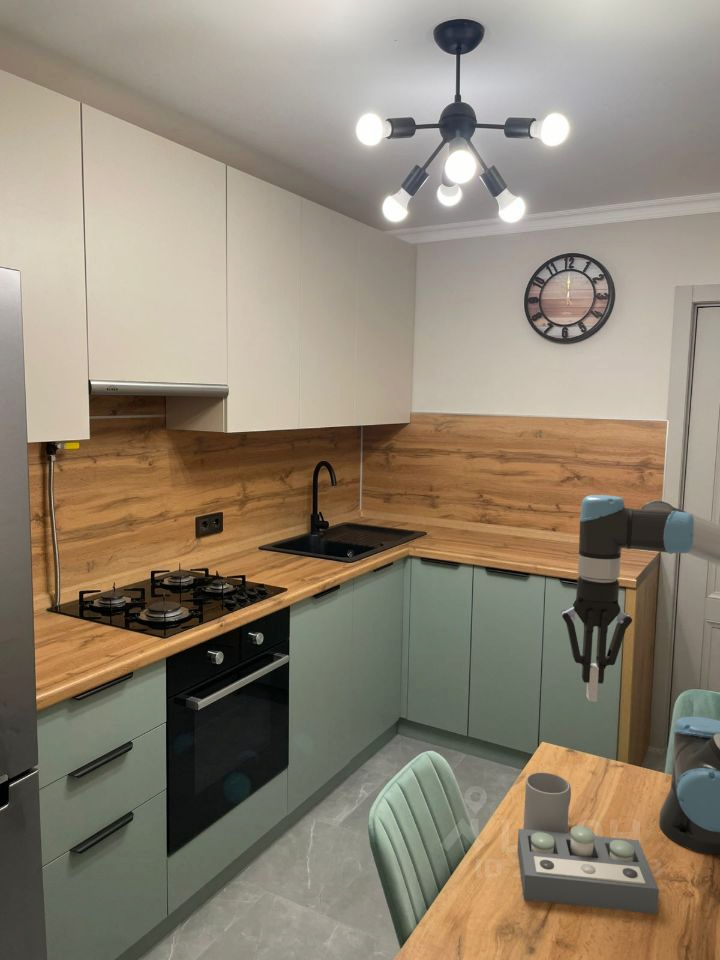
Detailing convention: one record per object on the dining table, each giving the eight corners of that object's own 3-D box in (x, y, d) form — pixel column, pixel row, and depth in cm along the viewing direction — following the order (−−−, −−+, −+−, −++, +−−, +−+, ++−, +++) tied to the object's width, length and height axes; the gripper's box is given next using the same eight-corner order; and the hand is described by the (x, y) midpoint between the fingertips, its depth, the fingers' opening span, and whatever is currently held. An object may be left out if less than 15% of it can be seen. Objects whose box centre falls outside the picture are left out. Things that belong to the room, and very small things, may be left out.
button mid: (591, 849, 134) (592, 827, 134) (595, 863, 130) (596, 840, 130) (567, 846, 135) (569, 824, 135) (571, 860, 131) (572, 838, 130)
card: (638, 868, 127) (638, 865, 127) (645, 884, 123) (645, 881, 123) (533, 857, 129) (533, 855, 129) (536, 873, 125) (536, 870, 125)
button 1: (552, 855, 136) (553, 833, 135) (554, 869, 131) (556, 846, 131) (529, 852, 136) (530, 831, 136) (531, 866, 132) (532, 844, 132)
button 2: (629, 863, 134) (631, 841, 133) (635, 877, 130) (636, 854, 129) (606, 860, 134) (607, 838, 134) (610, 875, 130) (612, 852, 130)
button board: (637, 862, 136) (638, 840, 135) (657, 914, 122) (658, 889, 122) (517, 850, 139) (518, 828, 138) (523, 899, 125) (525, 874, 125)
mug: (551, 853, 138) (553, 799, 137) (514, 833, 145) (516, 781, 143) (585, 830, 146) (588, 778, 145) (549, 812, 152) (551, 762, 151)
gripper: (629, 574, 139) (622, 693, 141) (559, 571, 141) (554, 688, 143) (639, 584, 132) (631, 709, 134) (565, 580, 133) (559, 704, 136)
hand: (591, 698), depth 139 cm, fingers closed
